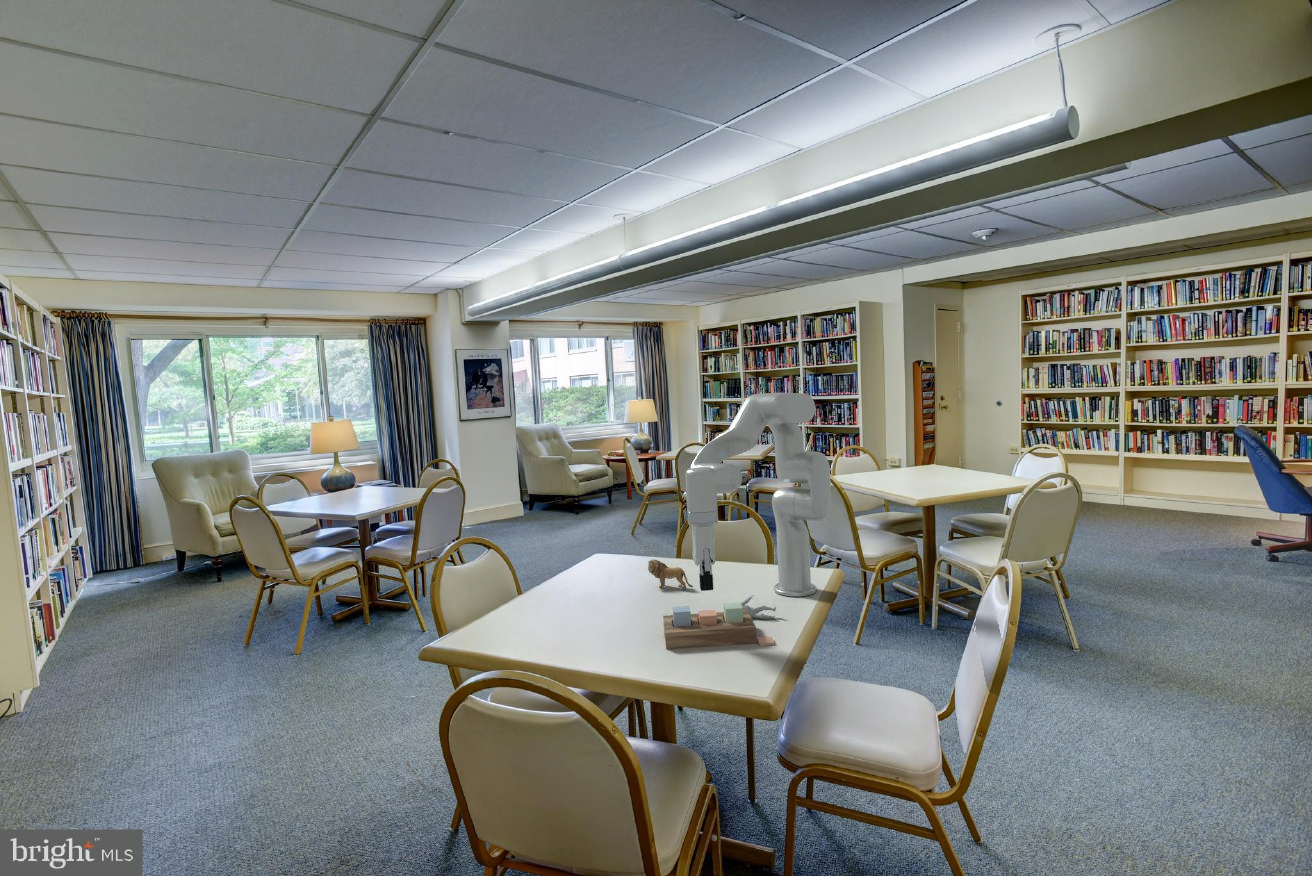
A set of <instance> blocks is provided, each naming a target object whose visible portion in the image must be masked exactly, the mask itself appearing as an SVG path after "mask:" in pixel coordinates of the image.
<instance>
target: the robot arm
mask: <svg viewBox="0 0 1312 876" xmlns="http://www.w3.org/2000/svg"><path fill="white" fill-rule="evenodd" d="M815 411H816V404H815V401H814V399H813V398H812V397H811V396H810V394H807V393H805V392H802V393H799V392H796V393H793V392H791V393H790V392H770V393H769V392H765V393H755V394H752V395H749V396H748V397H746V399H745V400H744V402H743V403H742V405H741V406H740V407H739V409H738V412H737V413H736V415H735V417H734V419H733V420H732V422H731V423H730V425H729V427H728V428H727V429H726V430H725V431H724V432H722V433H720V434H719V435H717V436H716V437H715V438H713V439H712V440H711V441H708V443H707V444H705V445H704V446H703V447H702V448H701V449H700V450H699V452H697V454H696V456H695V458H694V460H693V461H692V463H691V465H690V467H689V468H687V470H686V472H685V494H686V495H685V496H686V509H687V510H686V512H687V513H686V515H687V525H689V526H691V542H692V543H691V544H692V545H691V546H692V560H693V562H694V564H695V566H696V567H698V566H699V574H698V575H699V588H700V591H701V592H703V591H704V592H705V591H713V590H714V576H713V567H712V566H713V565H715V564H716V542H715V526H714V525H717V524H718V523H719V516H718V515H719V513H718V498H717V496H718V495H719V494H730V493H734V492H735V491H737V490H738V489H739V488H740V487H741V485H742V482H743V474H742V471H741V469H740V468H738V466H737V465H734V464H733V463H732V464H731V463H722V462H724V461H725V460H727V459H730V458H732V457H736V456H739V455H741V454H743V453H747V452H748V451H749V452H750V451H751V450H752V449H754V448H755V447H756V445H757V443H758V441H759V439H760V437H761V435H762V434H763V432H764V430H765V429H766V426H767V427H768V428H769V429H770V431H771V432H772V435H773V439H774V440H773V441H774V456H775V458H774V459H775V460H774V461H775V474H776V477H777V479H778V480H780V481H781V482H783V483H789V484H807V485H808V487H799V486H798V487H796V486H784V487H780V488H778V489H776V490H775V492H773V494H772V498H771V507H772V511H773V517H774V521H775V527H776V528H775V529H776V547H777V548H776V549H777V569H778V570H777V571H778V572H777V573H778V574H777V575H778V583H776V584H775V585H773V590H774V592H775V593H776V594H778V595H781V596H784V597H785V596H786V597H805V596H811V595H813V594H815V593H816V592H817V586H816V585H815V584H813V583H812V577H811V556H810V555H811V554H810V535H809V530H808V527H807V525H806V524H805V522H804V521H811V522H824V521H826V520H828V518H829V516H830V514H831V509H832V494H831V493H832V491H831V490H832V487H831V468H830V463H829V460H828V457H827V456H826V454H824V453H822V452H820V451H806V450H805V445H804V434H803V432H802V429H801V427H800V425H798V424H807V423H808V422H810V421H811V420H812V419H813V418H814V416H815Z"/></svg>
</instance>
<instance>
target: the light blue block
mask: <svg viewBox="0 0 1312 876" xmlns="http://www.w3.org/2000/svg"><path fill="white" fill-rule="evenodd" d="M691 614H692V612H691V609H690V605H681V606H672V615H673V624H674V627H681V626H691Z"/></svg>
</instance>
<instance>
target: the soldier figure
mask: <svg viewBox="0 0 1312 876" xmlns="http://www.w3.org/2000/svg"><path fill="white" fill-rule="evenodd" d="M753 597H755V595H753V594H752V595H750V596H748V598H746V599H745V600H744V601H742V602H739V603H740V604H741V606H742V608H743V611H744V610H747V611H748V613H749V615H750V616H751V618H752V619H763V620H764V619H772V620H774V619H775V617H776V615H767V614H765V613H762V612H763V611H773V612H775V611H777V606H775V607H774V606H773V607H770V606H766V605H760V606H757V607H755V608H754V607H750V605H747V604H748V603H749V602H750V601H751V600H752V599H753ZM760 612H761V613H760Z"/></svg>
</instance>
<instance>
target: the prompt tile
mask: <svg viewBox="0 0 1312 876" xmlns="http://www.w3.org/2000/svg"><path fill="white" fill-rule="evenodd" d="M756 639H757V643H758V646H759V647H762V646H775V645H776V643H775V641H774V639H773V637H772V636H764V637H763V636H762V637H761V636H760V637H756Z"/></svg>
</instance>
